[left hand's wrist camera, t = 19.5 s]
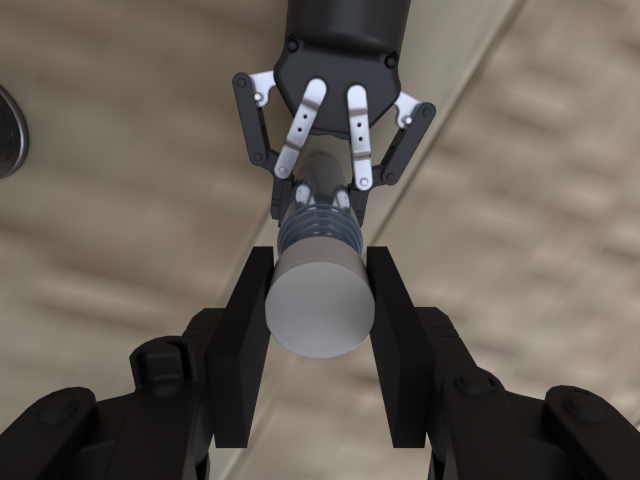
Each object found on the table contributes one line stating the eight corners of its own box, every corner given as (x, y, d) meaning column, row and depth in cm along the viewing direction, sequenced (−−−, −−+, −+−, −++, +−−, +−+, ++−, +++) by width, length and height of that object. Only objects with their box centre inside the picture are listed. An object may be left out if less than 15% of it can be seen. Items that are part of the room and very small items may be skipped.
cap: (258, 298, 15) (247, 334, 13) (297, 219, 14) (293, 243, 11) (340, 333, 15) (343, 373, 13) (384, 260, 14) (396, 291, 12)
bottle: (351, 168, 34) (403, 284, 13) (327, 206, 35) (340, 370, 14) (311, 144, 33) (296, 225, 12) (289, 184, 34) (239, 322, 13)
